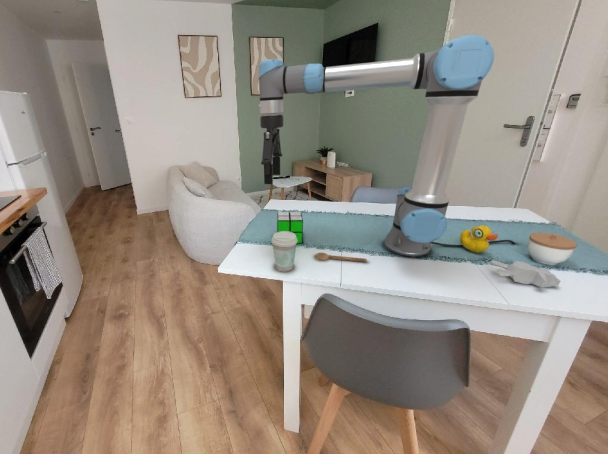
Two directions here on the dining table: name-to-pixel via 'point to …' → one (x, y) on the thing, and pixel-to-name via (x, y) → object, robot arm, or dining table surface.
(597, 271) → the dining table surface
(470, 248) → the duckling
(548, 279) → the bunny figurine
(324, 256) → the wooden spoon
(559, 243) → the trinket box
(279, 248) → the coffee cup
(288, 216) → the puzzle cube
